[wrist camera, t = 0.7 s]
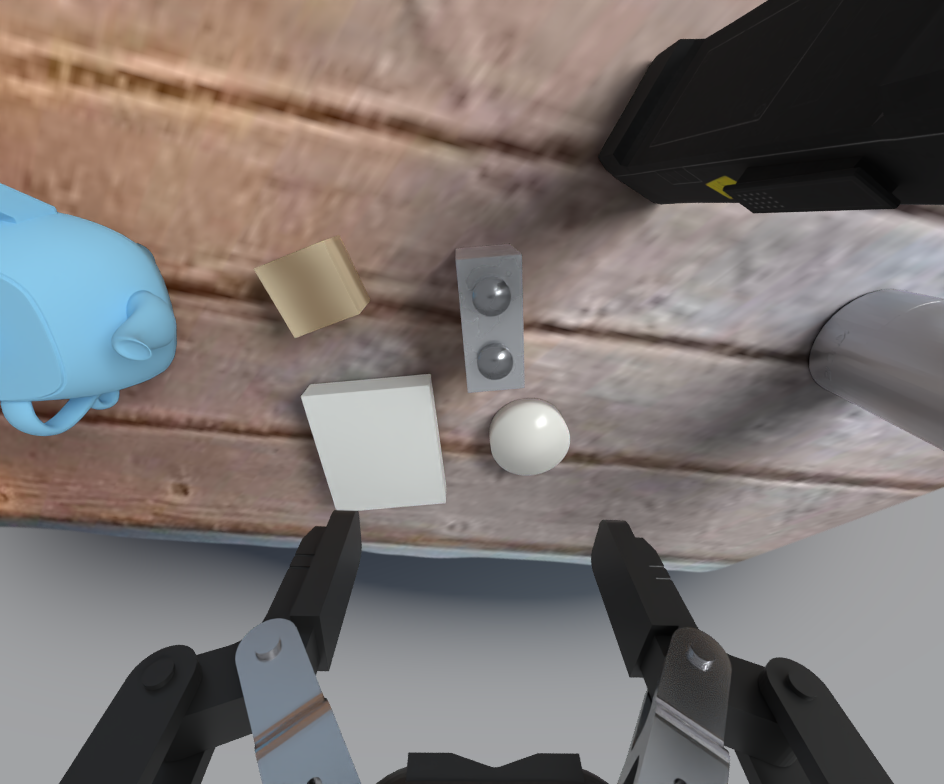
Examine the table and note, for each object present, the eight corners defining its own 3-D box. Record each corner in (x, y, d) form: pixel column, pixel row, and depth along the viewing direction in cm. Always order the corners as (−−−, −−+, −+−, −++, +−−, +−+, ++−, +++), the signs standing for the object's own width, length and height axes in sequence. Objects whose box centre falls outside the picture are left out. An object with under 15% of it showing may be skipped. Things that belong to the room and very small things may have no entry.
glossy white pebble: (565, 394, 35) (571, 405, 33) (563, 459, 38) (568, 472, 36) (486, 401, 35) (488, 412, 33) (491, 465, 38) (492, 478, 36)
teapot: (75, 130, 25) (-188, 86, 15) (250, 302, 30) (146, 357, 20) (-42, 279, 28) (-315, 325, 18) (132, 409, 34) (-6, 500, 24)
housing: (509, 243, 29) (523, 255, 23) (513, 356, 33) (525, 391, 27) (455, 248, 29) (455, 261, 23) (465, 360, 33) (468, 396, 27)
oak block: (339, 235, 28) (322, 240, 25) (370, 299, 30) (359, 313, 27) (278, 259, 29) (253, 268, 25) (313, 321, 31) (294, 338, 27)
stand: (431, 369, 33) (428, 385, 30) (446, 481, 38) (445, 503, 36) (313, 380, 33) (300, 396, 30) (345, 490, 38) (336, 512, 36)
